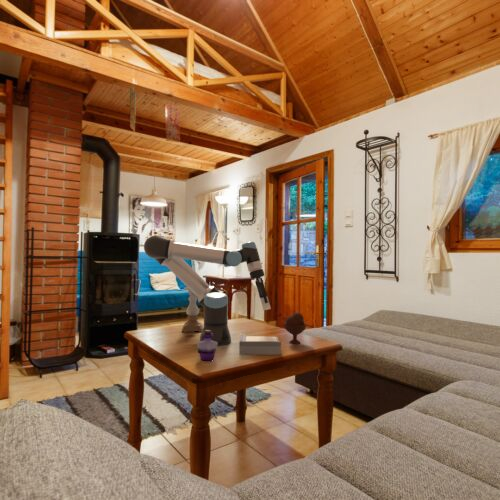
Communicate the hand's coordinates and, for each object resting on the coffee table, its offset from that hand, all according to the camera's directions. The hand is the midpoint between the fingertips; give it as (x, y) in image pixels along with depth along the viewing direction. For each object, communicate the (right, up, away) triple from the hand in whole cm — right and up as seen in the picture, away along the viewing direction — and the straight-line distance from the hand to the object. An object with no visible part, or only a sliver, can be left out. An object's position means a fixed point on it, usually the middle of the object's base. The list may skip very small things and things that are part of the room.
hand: (267, 309), depth 181 cm
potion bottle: (-26, -14, -40) cm, 50 cm away
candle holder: (-41, -14, +14) cm, 46 cm away
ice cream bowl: (+13, -15, -11) cm, 23 cm away
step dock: (-5, -14, -22) cm, 27 cm away
